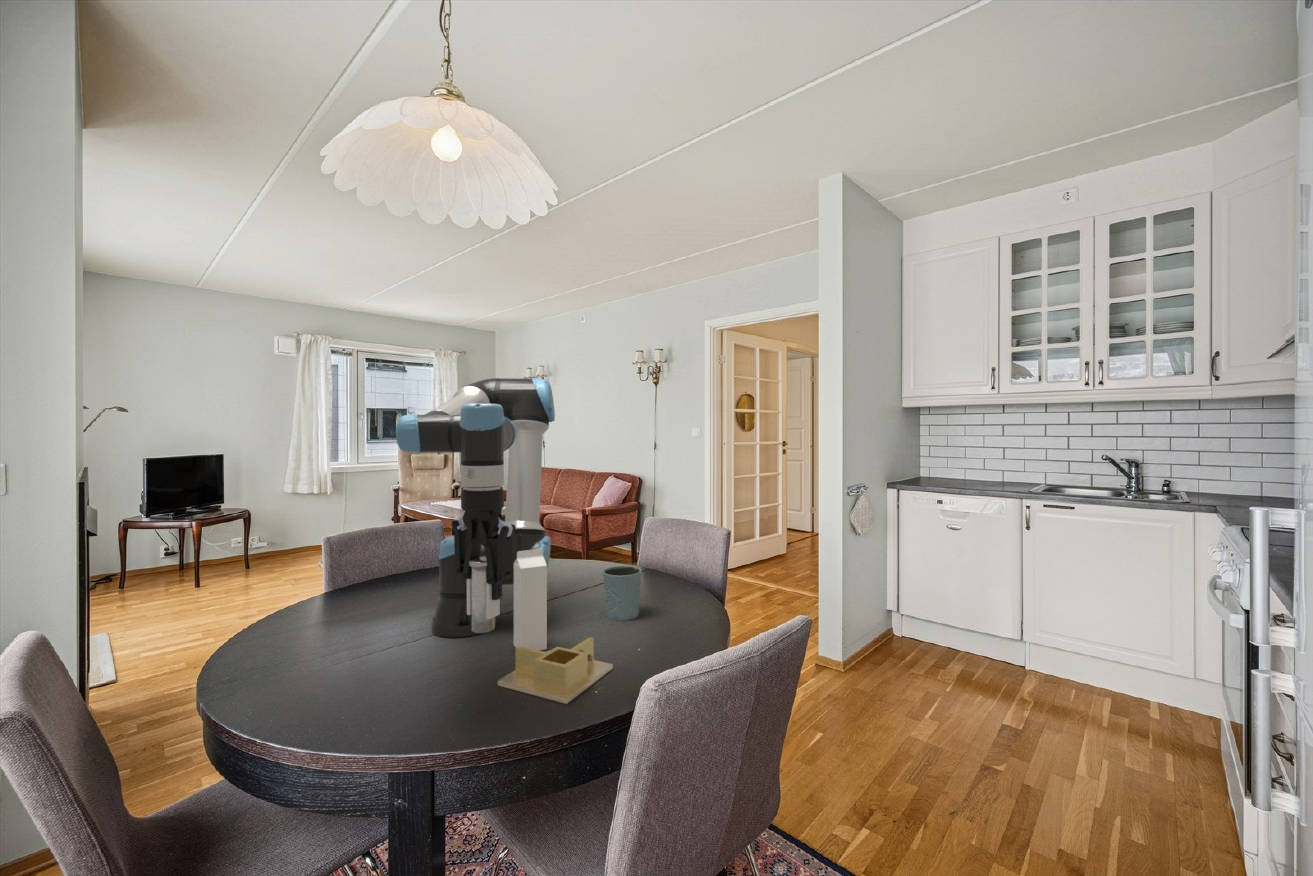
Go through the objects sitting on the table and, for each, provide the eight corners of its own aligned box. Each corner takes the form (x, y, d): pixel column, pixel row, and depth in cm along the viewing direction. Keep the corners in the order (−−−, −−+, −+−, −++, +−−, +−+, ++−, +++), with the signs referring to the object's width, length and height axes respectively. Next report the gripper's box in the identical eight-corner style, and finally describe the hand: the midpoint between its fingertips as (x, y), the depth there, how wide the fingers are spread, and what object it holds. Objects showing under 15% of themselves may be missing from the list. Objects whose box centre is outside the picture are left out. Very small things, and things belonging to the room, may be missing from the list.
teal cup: (648, 613, 145) (648, 569, 145) (626, 624, 136) (626, 577, 136) (618, 606, 150) (618, 564, 150) (595, 617, 142) (595, 571, 142)
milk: (546, 649, 120) (547, 551, 120) (520, 655, 117) (520, 554, 117) (538, 640, 126) (539, 546, 125) (512, 645, 123) (513, 548, 122)
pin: (463, 631, 98) (463, 561, 98) (482, 622, 102) (482, 555, 102) (483, 635, 96) (483, 564, 95) (502, 626, 100) (502, 558, 100)
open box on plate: (566, 704, 96) (566, 670, 96) (497, 685, 103) (497, 654, 103) (612, 669, 110) (612, 639, 110) (549, 654, 117) (549, 627, 117)
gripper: (432, 487, 99) (433, 613, 99) (504, 493, 91) (505, 629, 92) (463, 483, 105) (464, 601, 106) (533, 488, 98) (533, 615, 99)
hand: (483, 614), depth 99 cm, fingers closed on pin, 4 cm apart
